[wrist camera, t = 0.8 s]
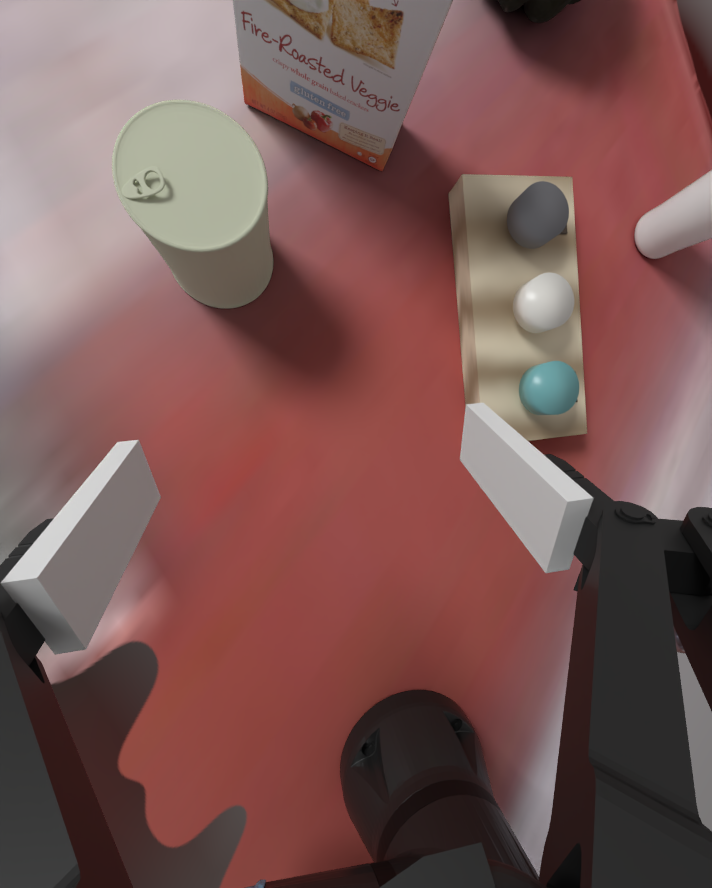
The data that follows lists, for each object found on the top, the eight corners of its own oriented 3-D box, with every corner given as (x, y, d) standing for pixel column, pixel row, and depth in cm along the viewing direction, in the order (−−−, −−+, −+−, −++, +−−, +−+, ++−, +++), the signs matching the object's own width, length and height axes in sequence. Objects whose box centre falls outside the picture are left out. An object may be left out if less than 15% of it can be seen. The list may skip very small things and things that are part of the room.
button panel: (565, 432, 42) (588, 433, 39) (468, 444, 40) (484, 446, 37) (551, 195, 40) (573, 175, 37) (448, 193, 38) (463, 172, 35)
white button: (560, 331, 37) (575, 326, 35) (514, 334, 36) (528, 329, 34) (556, 280, 36) (572, 271, 34) (511, 281, 35) (524, 273, 33)
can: (151, 222, 33) (78, 109, 21) (250, 194, 34) (234, 75, 23) (193, 322, 34) (146, 267, 22) (288, 291, 36) (290, 225, 24)
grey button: (555, 248, 36) (570, 238, 34) (508, 249, 35) (522, 238, 33) (551, 195, 36) (567, 181, 34) (504, 194, 35) (518, 180, 33)
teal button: (565, 412, 37) (580, 411, 35) (520, 417, 36) (534, 417, 34) (562, 362, 37) (577, 358, 35) (517, 366, 36) (530, 362, 34)
